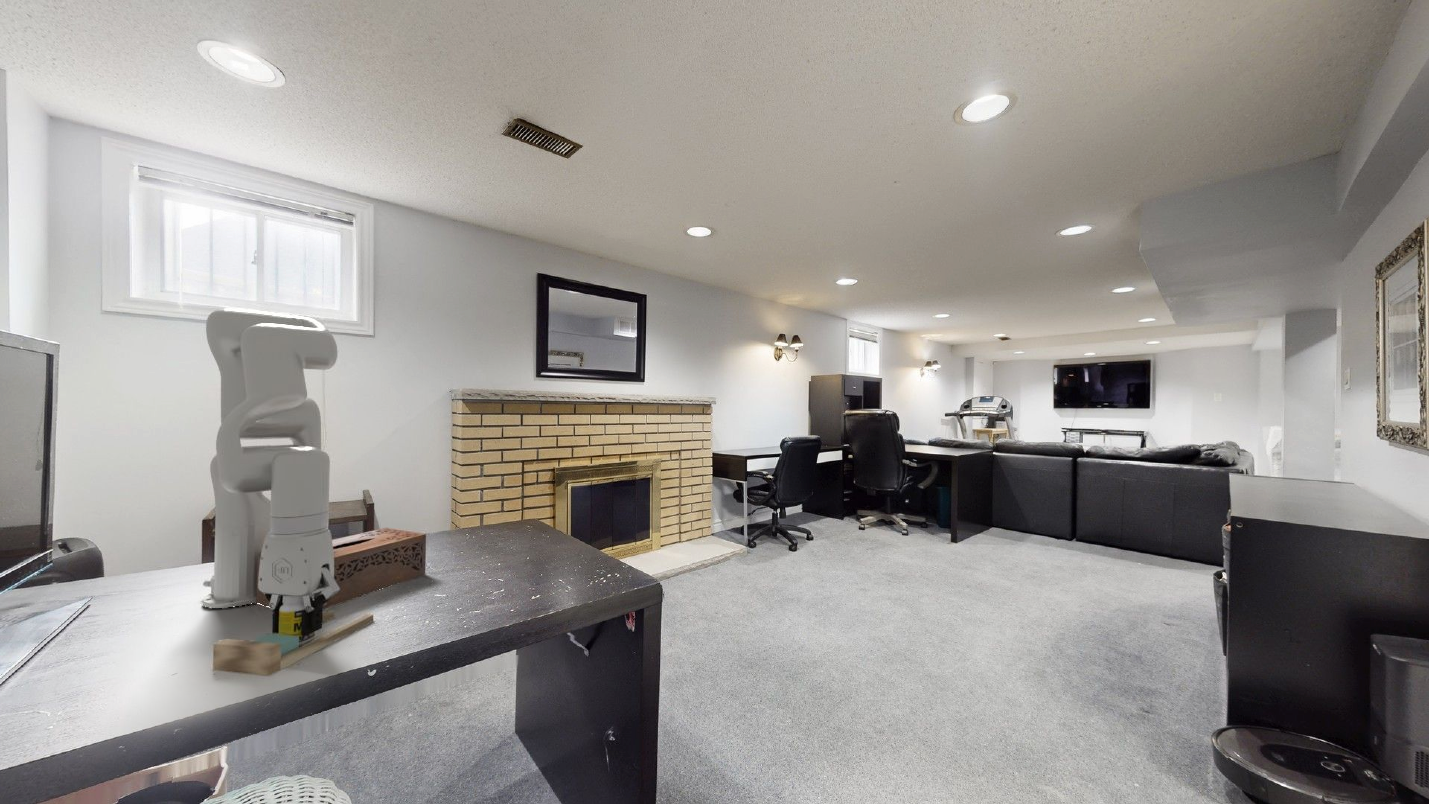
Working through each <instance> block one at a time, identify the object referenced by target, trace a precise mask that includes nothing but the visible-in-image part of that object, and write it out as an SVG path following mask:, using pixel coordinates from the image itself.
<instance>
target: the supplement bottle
mask: <svg viewBox="0 0 1429 804" xmlns="http://www.w3.org/2000/svg"><path fill="white" fill-rule="evenodd" d="M313 597H314V594H313V595H312V598H313ZM313 600H314V599H313ZM305 611H306V610H305V606H304V601H303V596H287V595H283V605H282V606H281V607H280V610H279V635H290V636H299V646H301V645H302V646H303V645H305V644H307V643H309V642H311V641H313V640H314V639H315V637H316V631H315V632H313V633H311V634H309V635H307V636H302V635H301V621H302V612H305Z"/></svg>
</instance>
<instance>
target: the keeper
mask: <svg viewBox="0 0 1429 804" xmlns="http://www.w3.org/2000/svg"><path fill="white" fill-rule="evenodd" d="M252 641H255V642H266V643H277V644H281V656H283V655H285V654H287V653H289V652H291V651H293V650H295V649H297V648H299V647H300V645H299V636H290V635H279V634H276V633H267V634H264V635H261V636H260V637H258V638H255V639H253V640H252Z"/></svg>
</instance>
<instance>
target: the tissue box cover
mask: <svg viewBox="0 0 1429 804" xmlns="http://www.w3.org/2000/svg"><path fill="white" fill-rule="evenodd" d="M332 543H333V552H334V580H335V581H336V583H337V585H338V586H339V588H340V590H339V592H337V593H336V594H335V595H333V596H332V597H331V598H330V599H329V600H328V601H327V603H326V605H325V606H323V610H324V609H327V608H331V607H334V606H336V604H337V605H340V604H343V603H345V602H349V601H351V600H355V599H356V597H358V598H360V597H363V596H365V595H364V594H366V595H369V594H371V593H370V592H372V593H374V592H373V591H375V592H378V591H380V590H379V589H381V590H383V589H382V588H384V589H386V588H387V589H388V588H390V587H392V586H391V585H393V586H396V585H399V584H401V583H405V582H409V581H410V580H413V579H417V578H420V577H423V576H425V575H426V562H427V561H426V560H427V559H426V558H427V557H426V555H427V554H426V553H427V552H426V551H427V534H426V533H421V532H416V531H409V530H403V529H397V528H391V527H384V528H383V527H382V528H379V529H374V530H369V531H365V532H361V533H357V534H351V535H347V536H343V537H339V538H338V537H337V538H334V539H332ZM260 560H261V556H258V566H257V603H260V604H262V605H264V606H269V604H270V602H269V601H268V599H267V598H266V597H265V594H264V593H263V592H261V591H260V590H259V588H258V583H259V568H260ZM398 583H399V584H398ZM389 586H390V587H389ZM377 590H378V591H377ZM368 593H369V594H368ZM362 595H363V596H362ZM315 598H316V593H315V594H314V597H313V599H315ZM354 598H355V599H354ZM348 600H349V601H348ZM257 603H256V604H257ZM339 603H340V604H339Z"/></svg>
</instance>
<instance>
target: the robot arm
mask: <svg viewBox="0 0 1429 804" xmlns="http://www.w3.org/2000/svg"><path fill="white" fill-rule="evenodd" d="M205 333H206V340H207V344H208V347H209V349H210V352H211V354H212V356H213V358H214V361H215V363H216V365H217V367H218V371H219V373H220V421H221V422H220V423H221V424H220V426H219V428H218V431H217V435H216V441H215V449H216V450H215V451H216V454H215V455H214V456H213V458H212V459H211V461H210V466H209V471H210V473H209V474H210V478H211V479H210V480H211V483H212V488H213V493H214V503H215V504H214V505H215V507H214V508H215V511H214V512H215V516H214V517H215V521H214V522H215V523H214V524H215V527H214V529H215V530H214V533H215V534H214V561H213V562H214V564H213V565H214V567H213V568H214V569H213V575H212V577H211V578H210V579H206V580H204V581H203V583H202V585H203V587H207V588H210V593H208V595H206V596H204V597H203V598H202V601H201V602H202V603H203V605H204V606H206V607H211V608H210V609H212V608H222V609H229V608H228V607H233V606H239V607H243V606H242V605H245V606H247V605H246V604H250V605H252V604H251V603H254V604H257V566H258V556H261V560H260V568H259V583H258V588H259V590H260V591H261V592H263V593H264V594H265V597H266V598H267V599H268V601H269V602H270V604H269V607H270V608H269V609H270V610H272V620H271V621H272V627H271V628H272V629H271V632H272V633H271V634H277V633H279V610H280V607H281V606H282V605H283V595H287V596H303V601H304V606H305V610H306V611H305V612H302V621H301V635H302V636H307V635H309V634H311V633H313V632H315V633H316V632H317V631H320V630H321V629H322V628H323V623H322V618H323V612H324V611H323V610H324V609H323V606H325V605H326V603H327V601H328V600H329V599H330V598H331V597H332V596H333V595H335V594H336V593H337V592H339V590H340V588H339V586H338V585H337V583H336V581H335V580H334V552H333V543H332V540H333V539H332V533H331V530H330V529H329V515H330V514H329V511H330V510H329V509H330V507H329V505H330V473H331V472H330V470H331V469H330V468H331V466H330V465H331V464H330V463H331V461H330V455H329V454H328V453H327V452H326V451H323V450H322V420H321V419H322V418H321V417H322V416H321V411H320V408H319V406H318V405H319V404H317V402H316V401H315V400H313V399H312V398H310V397H308V389H307V386H306V385H307V384H306V378H305V373H304V369H305V370H319V371H320V370H321V371H325V370H329V369H331V368H333V367H334V366H335V364H336V363H337V360H338V344H337V342H336V339H335V338H334V335H333V334H332V332H330V330H329V329H328V328H327V327H326V326H324V325H323V324H322V323H320V322H319V321H318V320H316V319H314V318H311V317H306V316H301V315H290V314H285V313H284V314H283V313H275V312H268V311H260V310H256V309H255V310H253V309H244V308H223V309H222V308H221V309H217V310H214V311H212V312H211V313H210V314H208V317H207V319H206V323H205ZM280 439H288V440H291V442H292V444H277V445H276V444H275V445H274V444H273V445H268V444H267V445H249V446H242V443H241V440H243V441H245V440H255V441H257V440H280ZM268 491H270V499H269V498H268V497H266V496H265V495H264V493H263V492H268ZM315 593H316V598H315V599H314V600H313V598H312V595H313V594H315ZM202 603H201V604H202ZM203 605H202V606H203ZM204 606H203V607H204ZM206 607H205V608H206ZM233 608H234V607H233ZM273 609H274V610H273Z"/></svg>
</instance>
